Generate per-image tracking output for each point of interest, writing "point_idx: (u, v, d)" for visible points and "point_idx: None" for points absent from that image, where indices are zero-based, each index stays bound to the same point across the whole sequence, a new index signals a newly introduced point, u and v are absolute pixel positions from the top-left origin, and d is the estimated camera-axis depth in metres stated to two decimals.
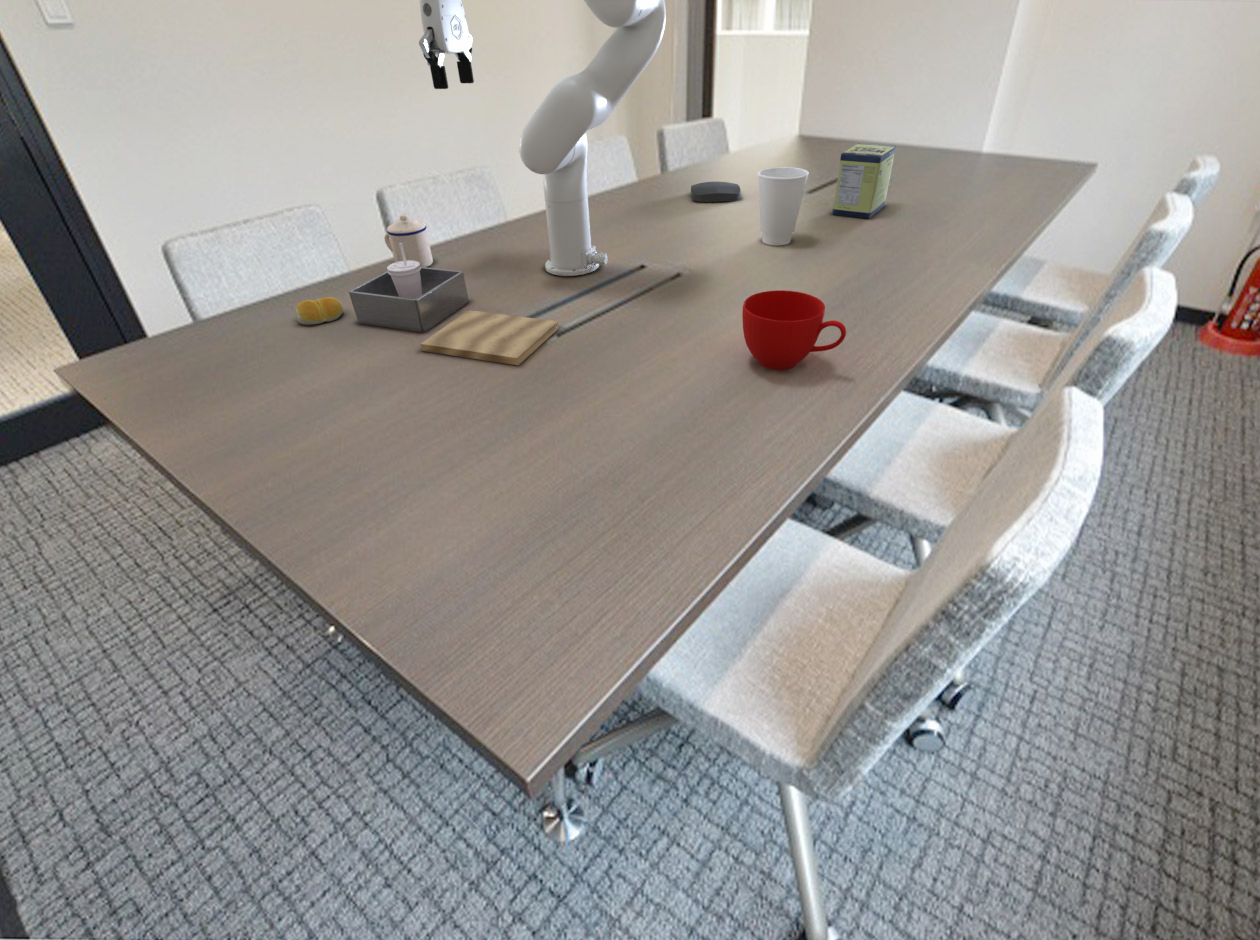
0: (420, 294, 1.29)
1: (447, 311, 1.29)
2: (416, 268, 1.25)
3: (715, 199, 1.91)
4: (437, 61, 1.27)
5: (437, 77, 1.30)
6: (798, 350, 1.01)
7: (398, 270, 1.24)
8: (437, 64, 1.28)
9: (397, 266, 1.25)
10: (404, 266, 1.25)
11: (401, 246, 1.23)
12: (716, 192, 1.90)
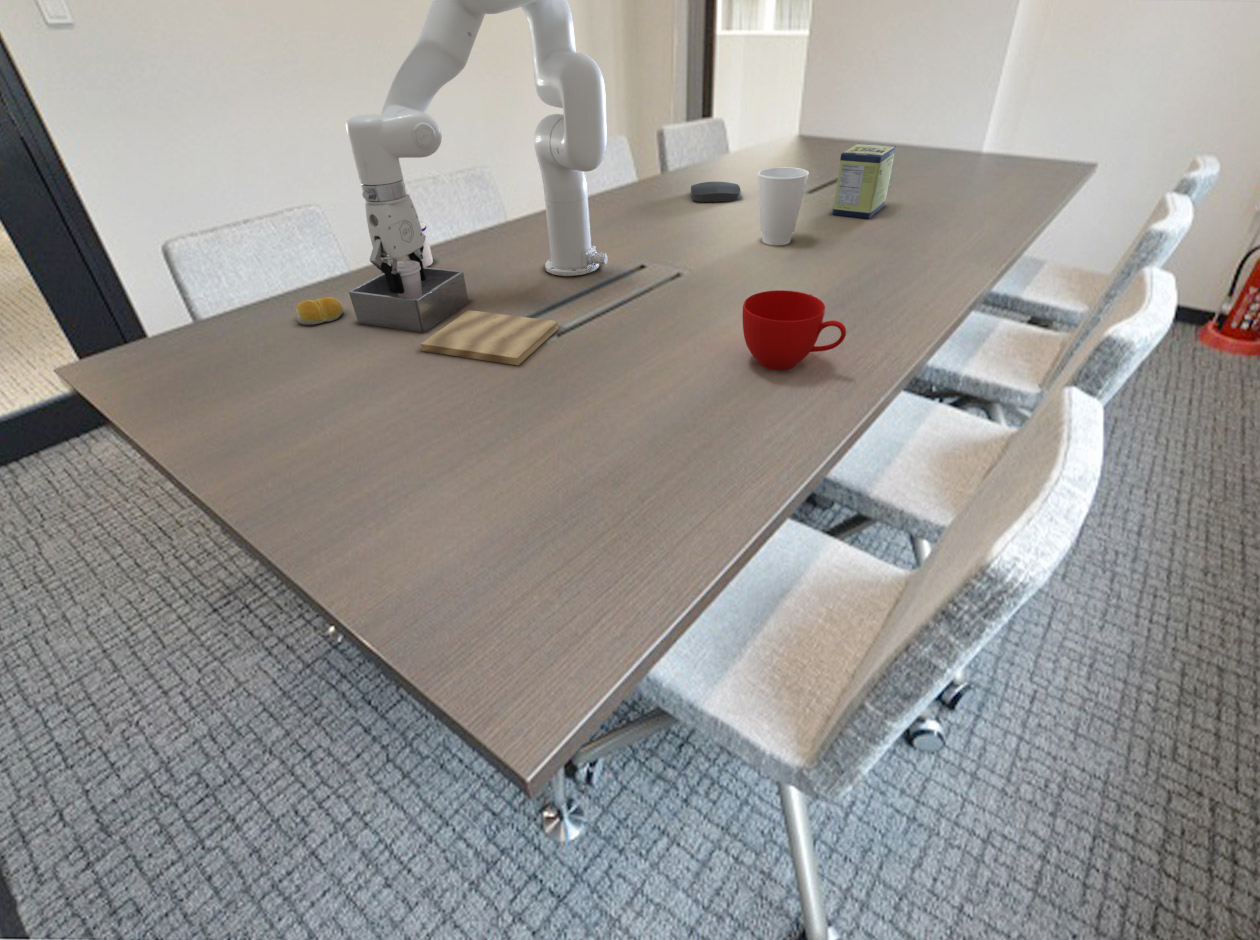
0: (420, 294, 1.29)
1: (447, 311, 1.29)
2: (416, 268, 1.25)
3: (715, 199, 1.91)
4: (391, 271, 1.22)
5: (392, 284, 1.24)
6: (798, 350, 1.01)
7: (398, 270, 1.24)
8: (392, 273, 1.22)
9: (397, 266, 1.25)
10: (404, 266, 1.25)
11: None
12: (716, 192, 1.90)
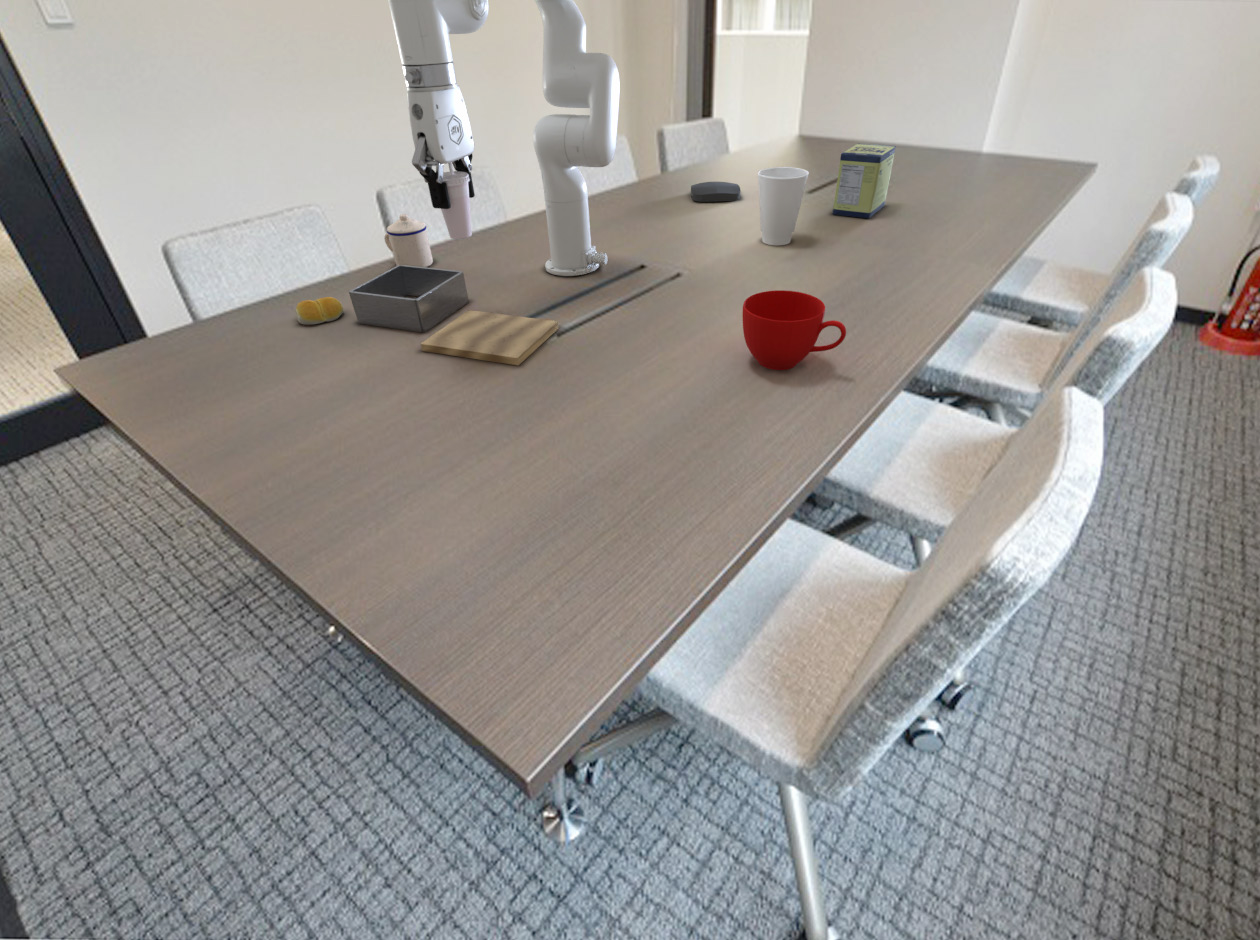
0: (468, 212, 1.08)
1: (447, 311, 1.29)
2: (465, 178, 1.04)
3: (715, 199, 1.91)
4: (437, 179, 1.00)
5: (436, 196, 1.03)
6: (798, 350, 1.01)
7: (444, 180, 1.03)
8: (438, 182, 1.01)
9: None
10: (450, 176, 1.04)
11: None
12: (716, 192, 1.90)
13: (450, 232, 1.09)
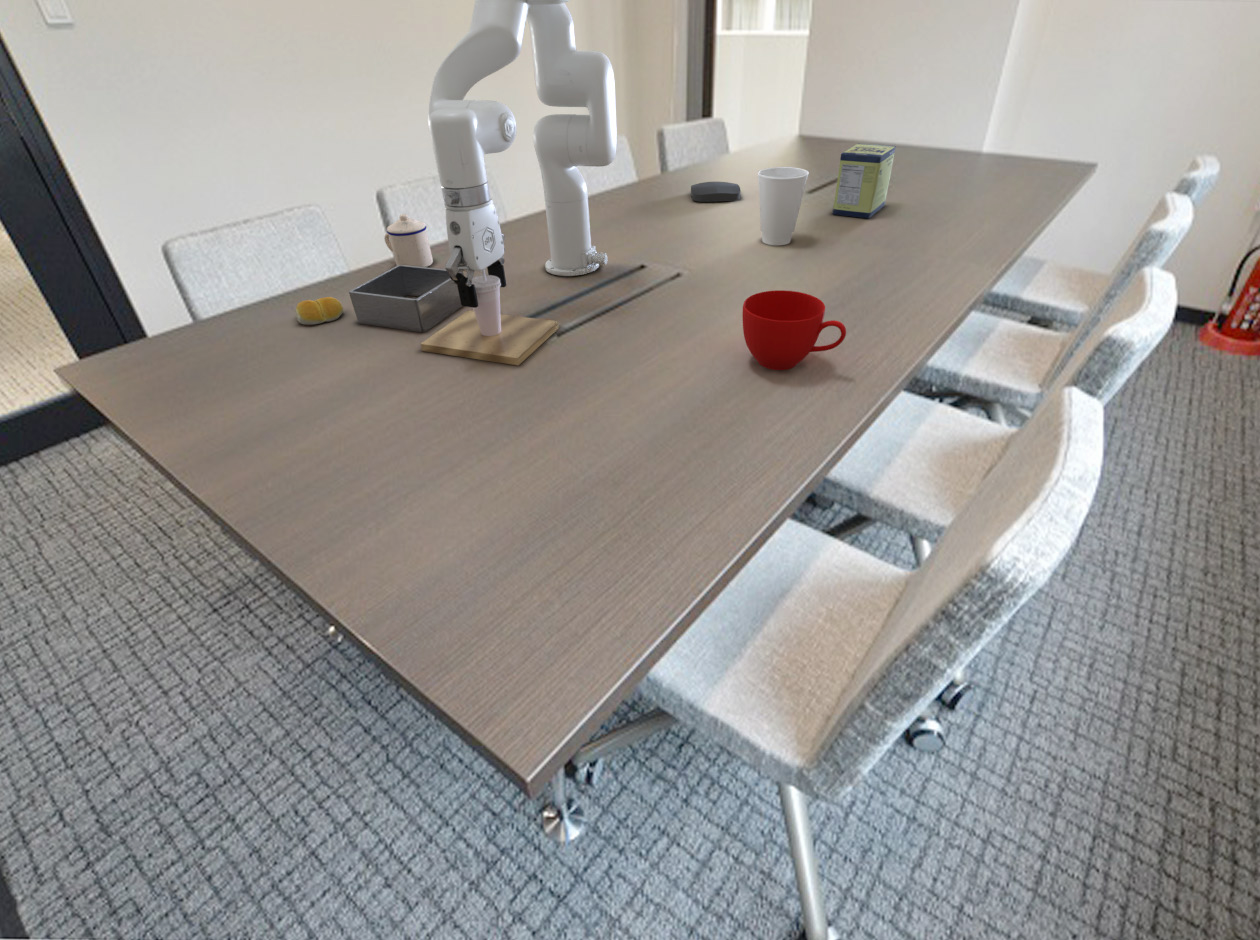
0: (499, 312, 1.16)
1: (447, 311, 1.29)
2: (497, 284, 1.12)
3: (715, 199, 1.91)
4: (466, 282, 1.07)
5: (465, 297, 1.09)
6: (798, 350, 1.01)
7: (478, 286, 1.11)
8: (466, 284, 1.07)
9: (475, 282, 1.12)
10: (483, 282, 1.12)
11: None
12: (716, 192, 1.90)
13: (481, 330, 1.17)
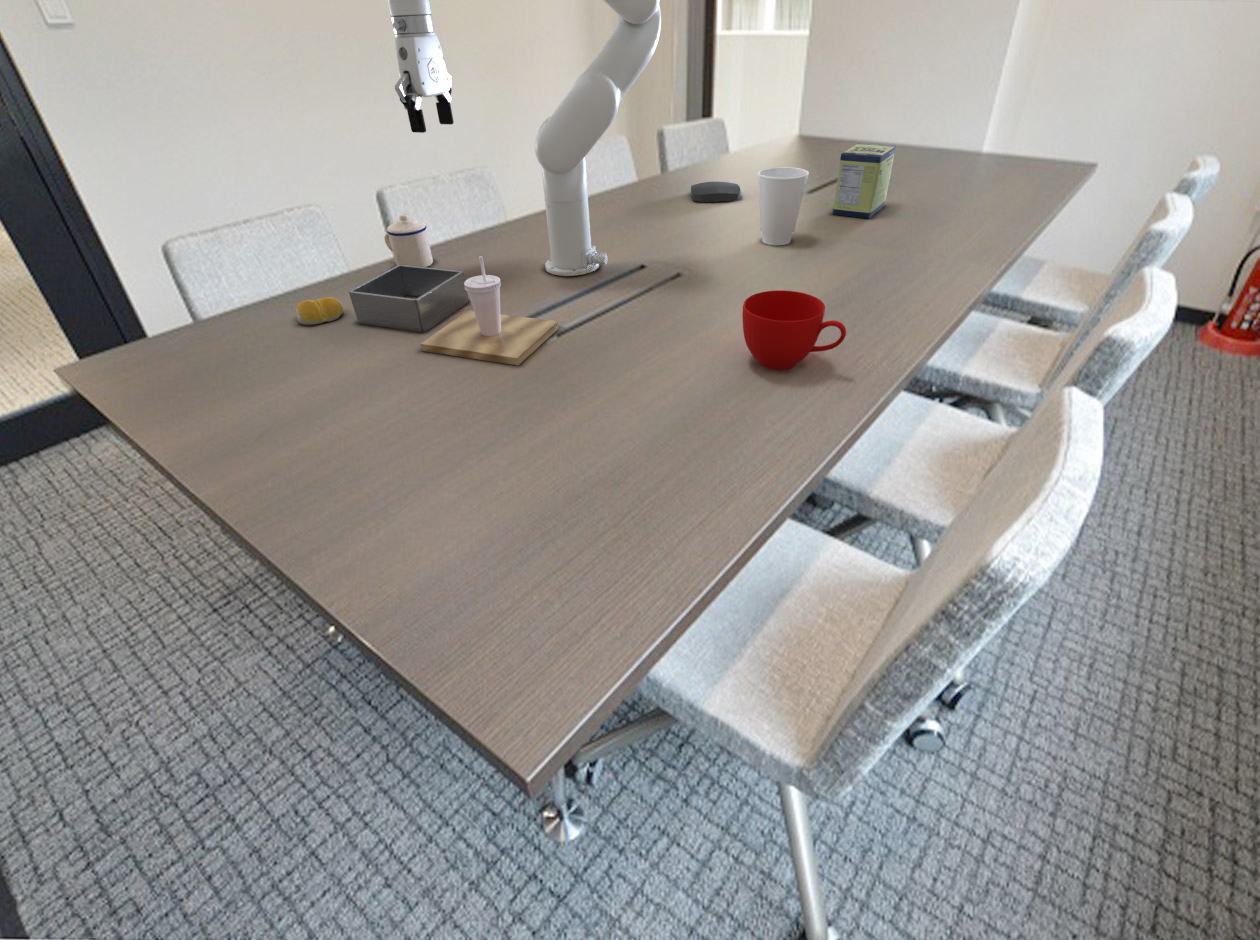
0: (499, 312, 1.16)
1: (447, 311, 1.29)
2: (497, 284, 1.12)
3: (715, 199, 1.91)
4: (414, 105, 1.24)
5: (414, 121, 1.26)
6: (798, 350, 1.01)
7: (478, 286, 1.11)
8: (414, 108, 1.24)
9: (475, 282, 1.12)
10: (483, 282, 1.12)
11: (481, 260, 1.10)
12: (716, 192, 1.90)
13: (481, 330, 1.17)
